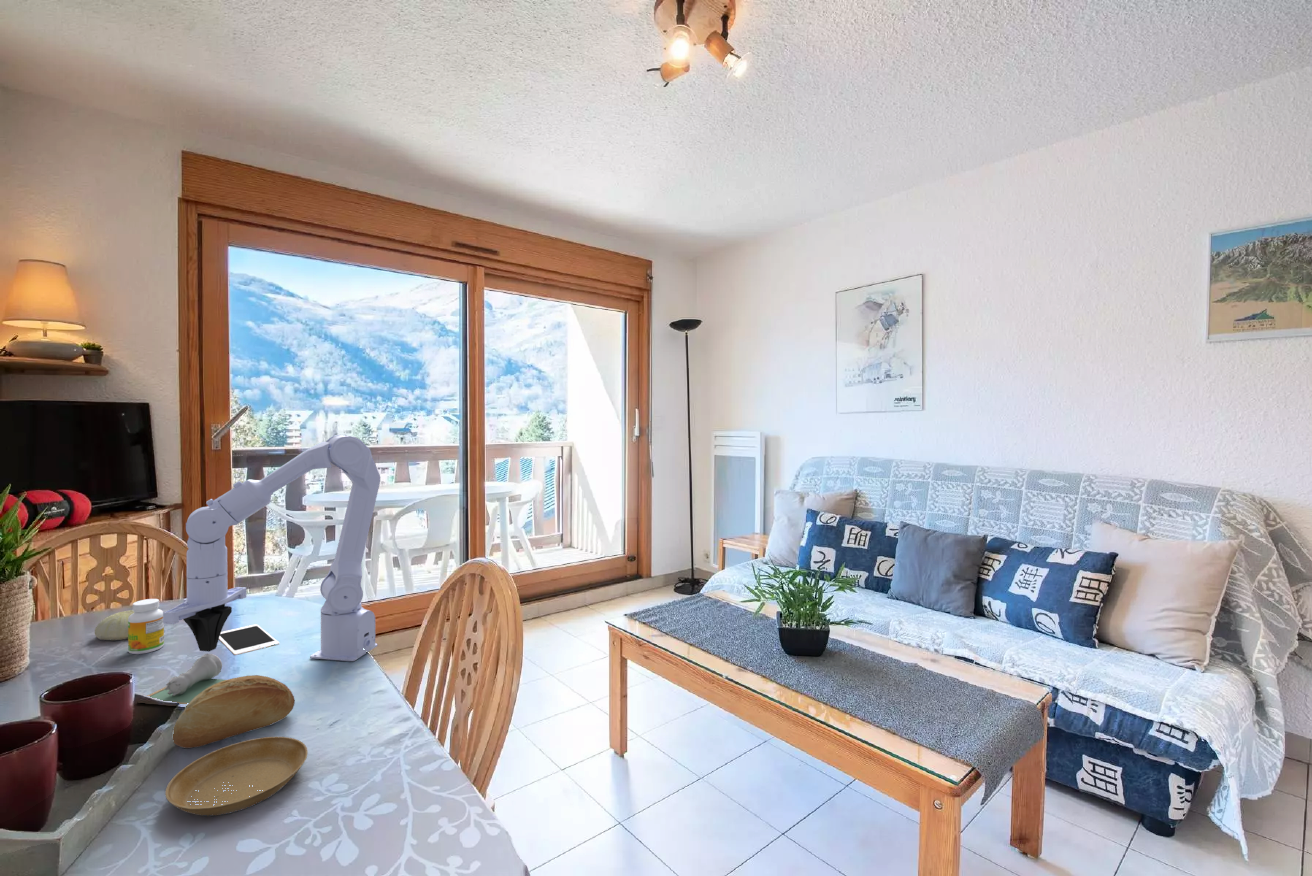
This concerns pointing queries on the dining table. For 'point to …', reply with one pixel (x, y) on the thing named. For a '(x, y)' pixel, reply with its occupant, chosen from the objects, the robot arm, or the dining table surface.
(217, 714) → the bread roll
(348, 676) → the dining table surface
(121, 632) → the sea urchin shell
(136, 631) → the supplement bottle
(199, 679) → the rook chess piece
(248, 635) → the cell phone
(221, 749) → the plant saucer
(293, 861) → the dining table surface
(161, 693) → the green chalkboard
